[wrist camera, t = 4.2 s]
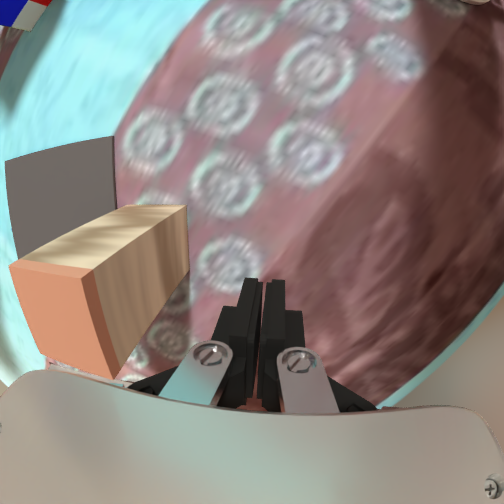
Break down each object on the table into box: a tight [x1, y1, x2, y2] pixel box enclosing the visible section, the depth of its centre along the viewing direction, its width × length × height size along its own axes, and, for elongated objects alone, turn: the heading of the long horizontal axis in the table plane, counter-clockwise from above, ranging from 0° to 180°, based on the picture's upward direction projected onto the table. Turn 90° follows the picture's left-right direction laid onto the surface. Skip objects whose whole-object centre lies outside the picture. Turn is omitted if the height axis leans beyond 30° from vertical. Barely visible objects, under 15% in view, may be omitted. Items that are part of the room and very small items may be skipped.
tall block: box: [9, 205, 190, 380], centre depth 15 cm, size 5×5×12 cm
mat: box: [5, 136, 117, 260], centre depth 21 cm, size 16×16×1 cm
